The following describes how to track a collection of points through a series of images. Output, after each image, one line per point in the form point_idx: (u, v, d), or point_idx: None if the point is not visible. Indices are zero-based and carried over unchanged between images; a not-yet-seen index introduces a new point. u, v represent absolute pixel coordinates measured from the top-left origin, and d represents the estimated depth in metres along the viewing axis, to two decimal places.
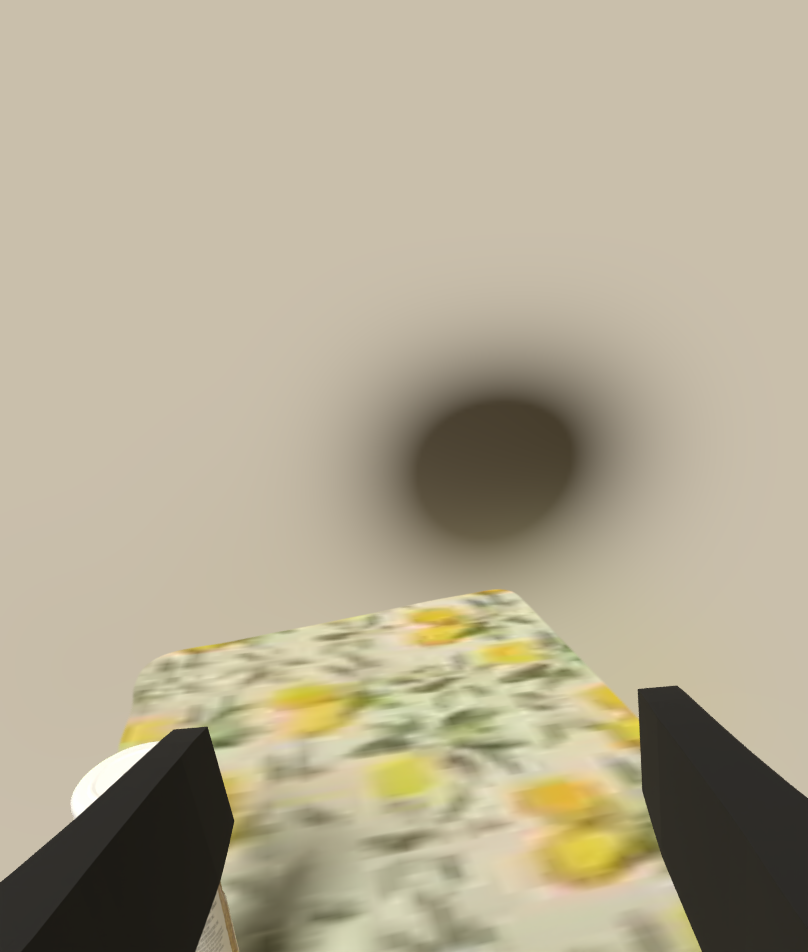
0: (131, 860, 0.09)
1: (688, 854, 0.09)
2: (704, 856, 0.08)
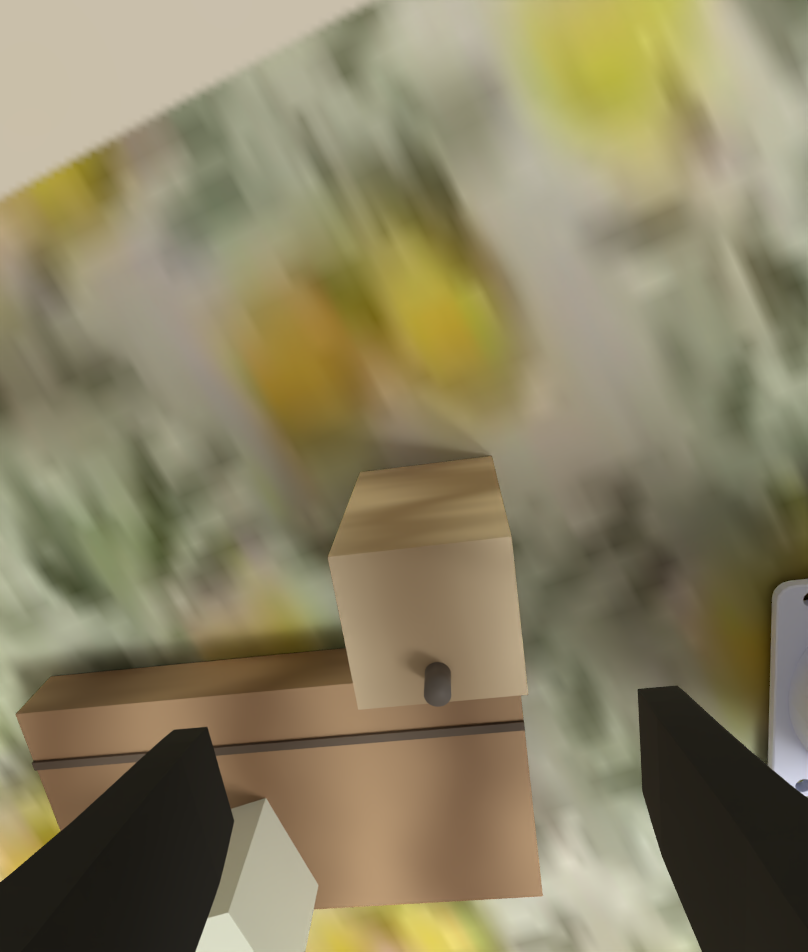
0: (131, 860, 0.09)
1: (688, 854, 0.09)
2: (704, 856, 0.08)
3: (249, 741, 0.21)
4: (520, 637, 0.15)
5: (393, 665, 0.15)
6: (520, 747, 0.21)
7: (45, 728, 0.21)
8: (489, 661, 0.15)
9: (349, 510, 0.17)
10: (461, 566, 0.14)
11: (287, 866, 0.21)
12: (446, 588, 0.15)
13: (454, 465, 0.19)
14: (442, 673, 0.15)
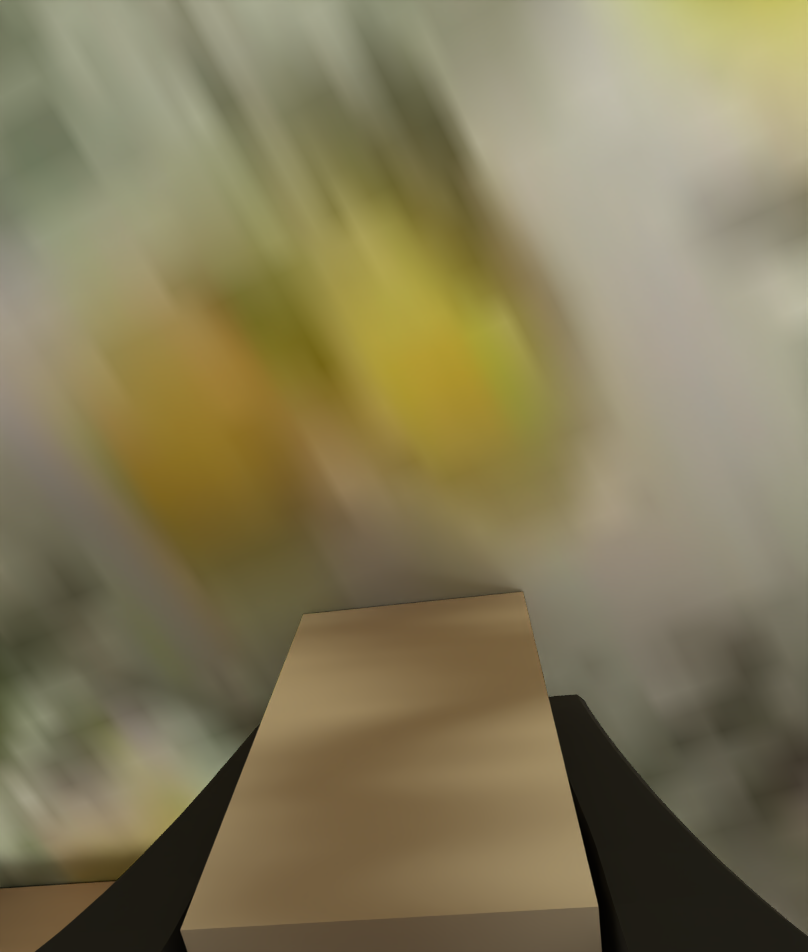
0: None
1: None
2: None
3: None
4: None
5: None
6: None
7: None
8: None
9: (263, 733, 0.09)
10: None
11: None
12: None
13: (461, 613, 0.11)
14: None
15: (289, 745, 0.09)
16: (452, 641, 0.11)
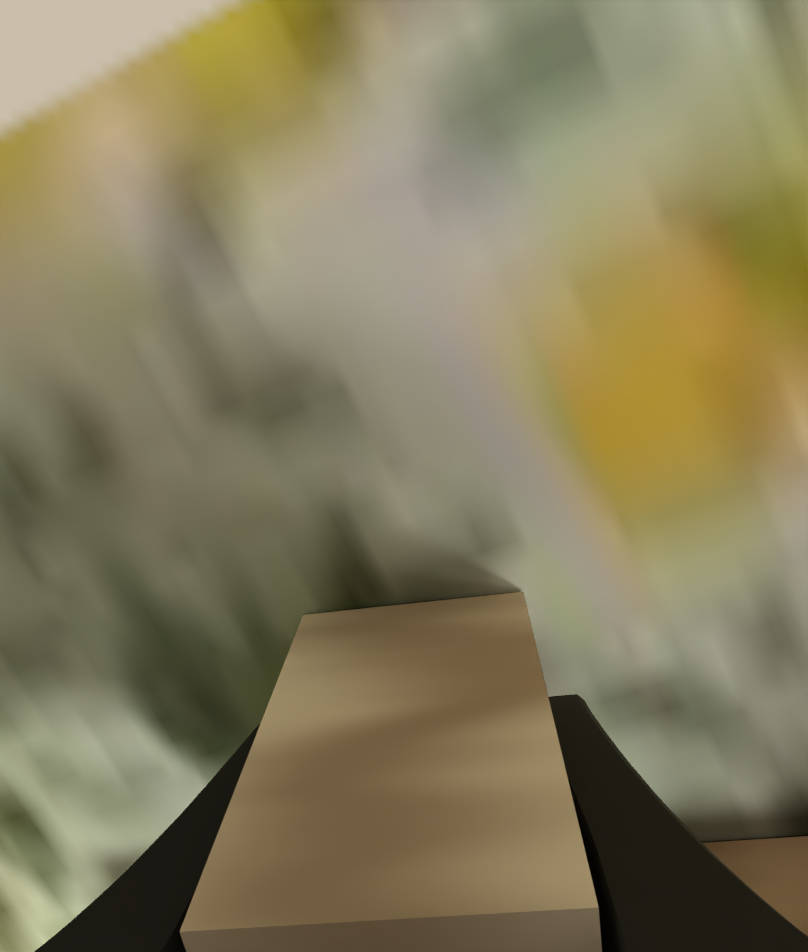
0: None
1: None
2: None
3: None
4: None
5: None
6: None
7: None
8: None
9: (263, 734, 0.09)
10: None
11: None
12: None
13: (461, 613, 0.11)
14: None
15: (289, 746, 0.09)
16: (452, 641, 0.11)
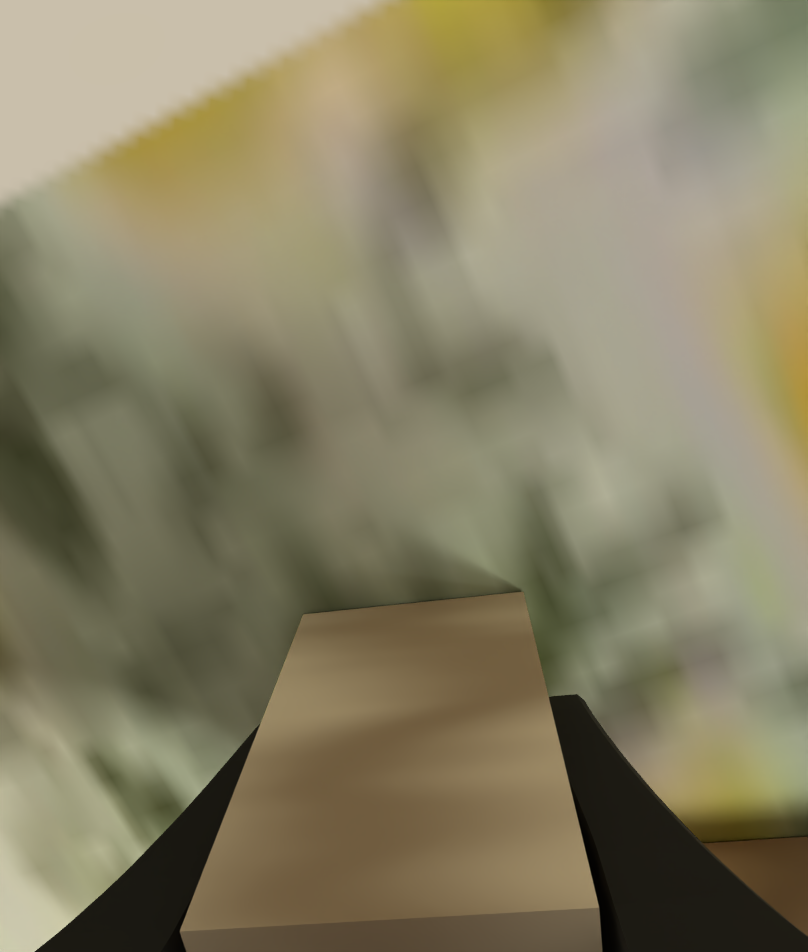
0: None
1: None
2: None
3: None
4: None
5: None
6: None
7: None
8: None
9: (263, 734, 0.09)
10: None
11: None
12: None
13: (461, 613, 0.11)
14: None
15: (289, 745, 0.09)
16: (452, 641, 0.11)
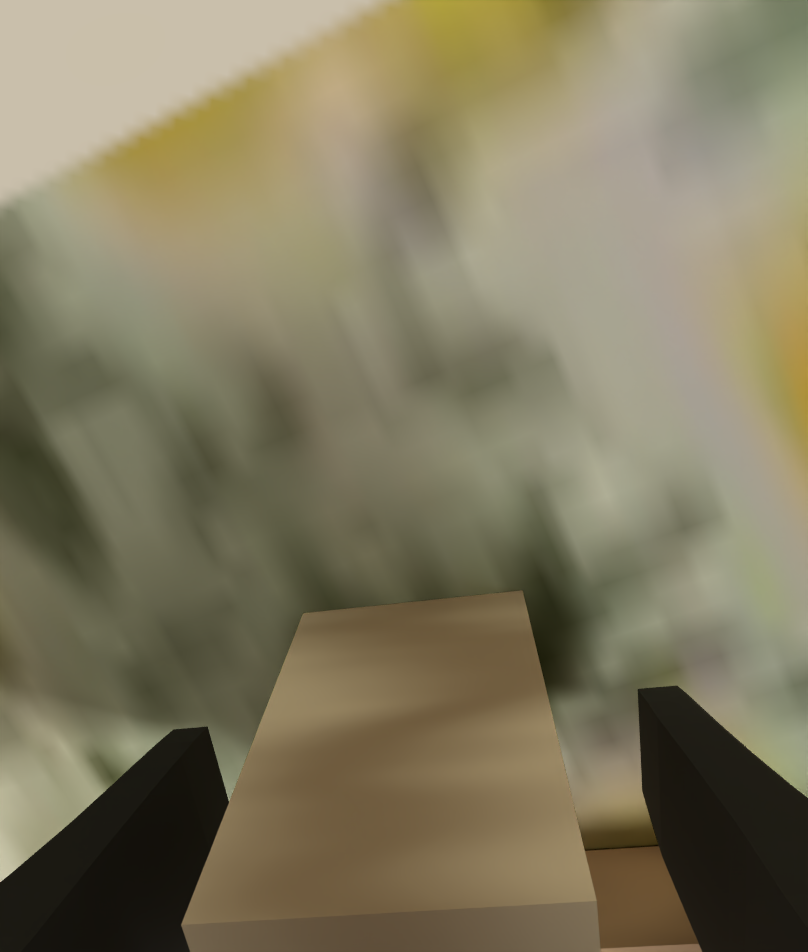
0: (131, 860, 0.09)
1: (688, 854, 0.09)
2: (704, 856, 0.08)
3: None
4: None
5: None
6: None
7: None
8: None
9: (264, 730, 0.09)
10: None
11: None
12: None
13: (461, 611, 0.11)
14: None
15: (289, 742, 0.09)
16: (452, 639, 0.11)
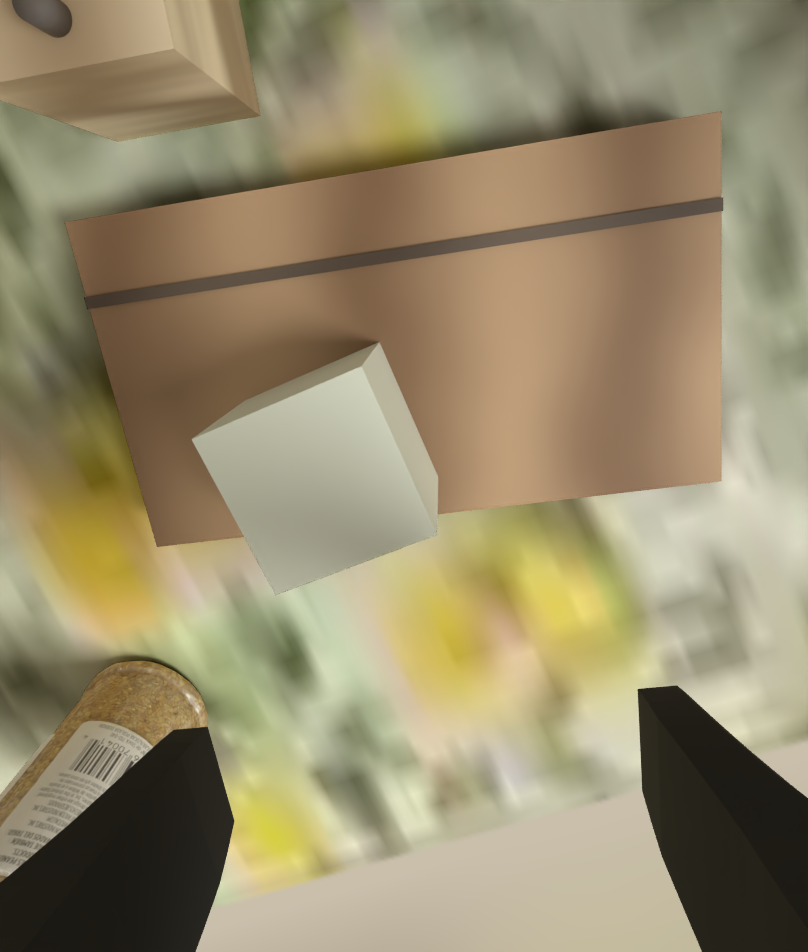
0: (131, 860, 0.09)
1: (688, 854, 0.09)
2: (704, 856, 0.08)
3: (363, 250, 0.17)
4: None
5: None
6: (713, 243, 0.16)
7: (102, 243, 0.17)
8: None
9: None
10: None
11: (408, 420, 0.17)
12: None
13: None
14: None
15: None
16: None
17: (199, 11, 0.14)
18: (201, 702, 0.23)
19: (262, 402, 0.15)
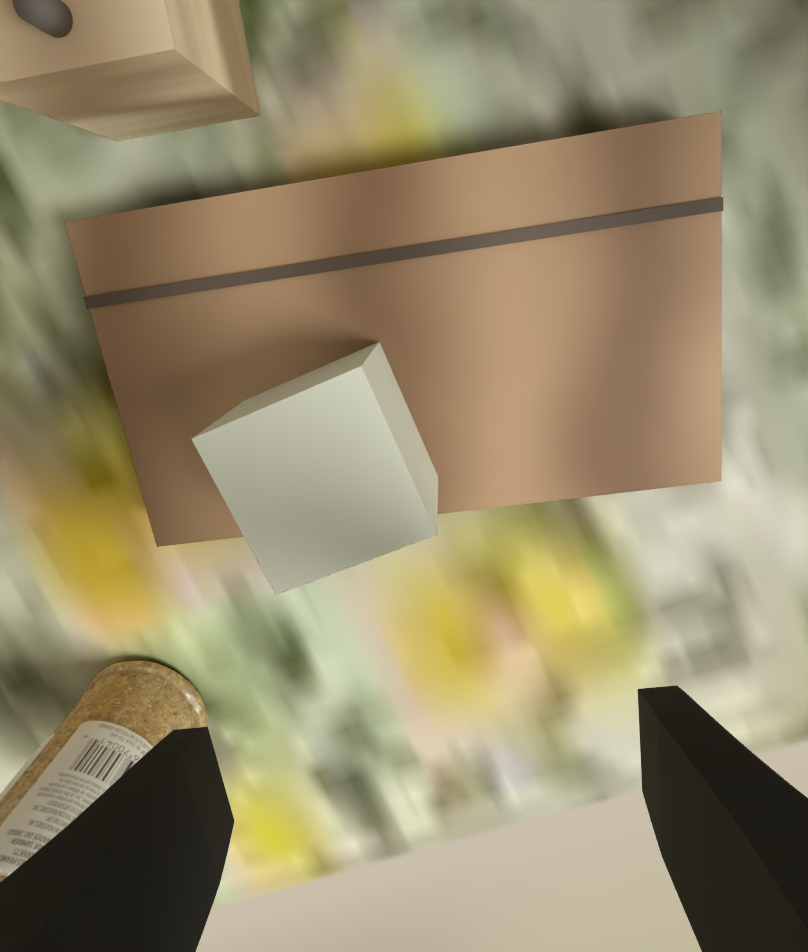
0: (131, 860, 0.09)
1: (688, 854, 0.09)
2: (704, 856, 0.08)
3: (363, 250, 0.17)
4: None
5: None
6: (713, 243, 0.16)
7: (102, 243, 0.17)
8: None
9: None
10: None
11: (408, 420, 0.17)
12: None
13: None
14: None
15: None
16: None
17: (199, 11, 0.14)
18: (201, 702, 0.23)
19: (262, 402, 0.15)
